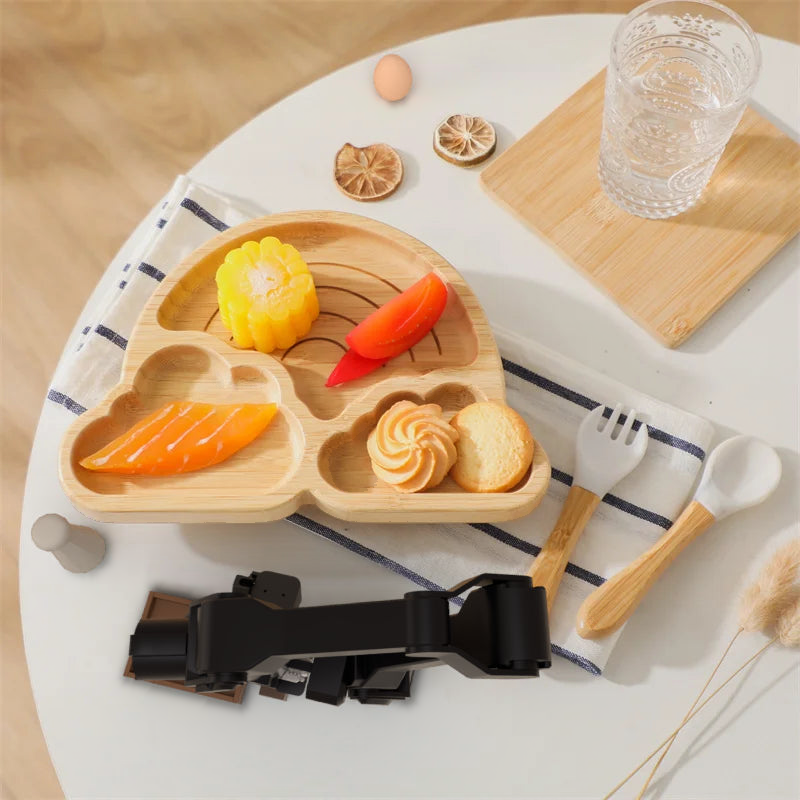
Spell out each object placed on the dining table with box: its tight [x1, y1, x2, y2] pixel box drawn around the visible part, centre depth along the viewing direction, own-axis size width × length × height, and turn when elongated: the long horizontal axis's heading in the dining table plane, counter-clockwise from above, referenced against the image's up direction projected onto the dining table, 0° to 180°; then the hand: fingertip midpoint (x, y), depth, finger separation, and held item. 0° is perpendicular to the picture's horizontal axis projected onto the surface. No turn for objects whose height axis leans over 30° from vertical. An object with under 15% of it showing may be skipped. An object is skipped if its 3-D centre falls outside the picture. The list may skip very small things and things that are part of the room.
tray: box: [122, 590, 248, 705], centre depth 109 cm, size 14×10×2 cm
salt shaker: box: [30, 513, 106, 574], centre depth 109 cm, size 6×6×13 cm
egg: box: [372, 53, 413, 102], centre depth 135 cm, size 6×6×8 cm
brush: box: [258, 685, 290, 702], centre depth 104 cm, size 3×7×7 cm, turn 167°
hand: (277, 664), depth 104 cm, fingers closed on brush, 2 cm apart
